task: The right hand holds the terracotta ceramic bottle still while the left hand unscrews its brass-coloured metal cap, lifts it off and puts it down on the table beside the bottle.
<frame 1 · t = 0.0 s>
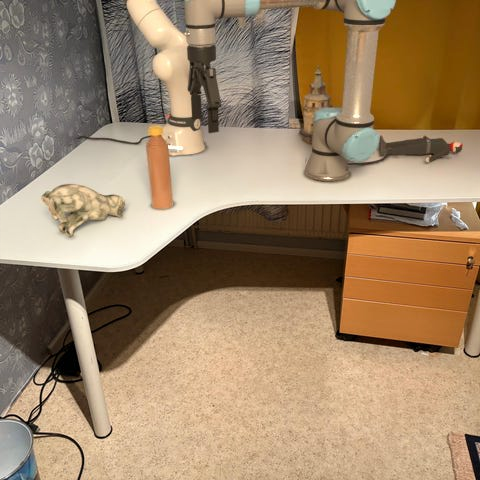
left hand: (250, 25, 175), 48 cm above the table, tool pointing down, fingers open, 8 cm apart
right hand: (205, 125, 148), 28 cm above the table, tool pointing down, fingers open, 13 cm apart
figurine: (88, 226, 157), on the table
cap: (155, 128, 157), point 25 cm above the table, screwed on, not yet turned
bottle: (162, 204, 169), on the table
toy: (419, 154, 205), on the table
miniature building: (315, 140, 221), on the table
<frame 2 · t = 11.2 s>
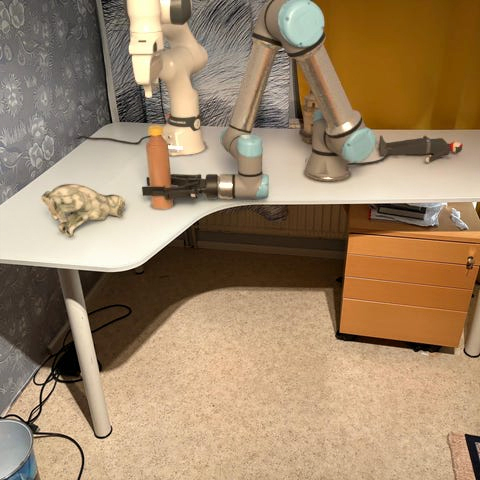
left hand: (152, 93, 152), 35 cm above the table, tool pointing down, fingers open, 6 cm apart
right hand: (144, 186, 166), 6 cm above the table, tool horizontal, fingers closed on bottle, 7 cm apart
bottle: (162, 204, 169), on the table, touching right hand
everything else where it was.
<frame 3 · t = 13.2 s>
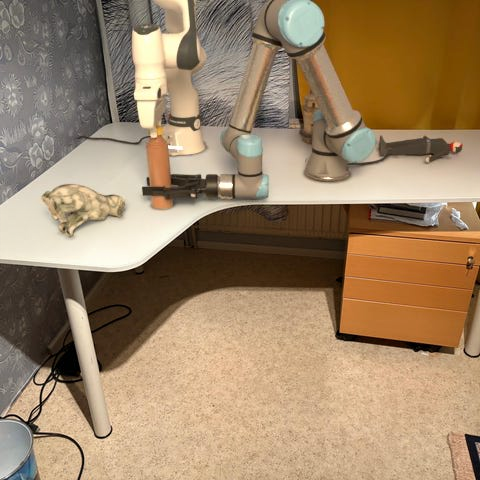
left hand: (156, 134, 158), 23 cm above the table, tool pointing down, fingers closed on cap, 4 cm apart
right hand: (144, 186, 166), 6 cm above the table, tool horizontal, fingers closed on bottle, 7 cm apart
cap: (155, 128, 157), point 25 cm above the table, screwed on, not yet turned, touching left hand
bottle: (162, 204, 169), on the table, touching right hand
everything else where it was.
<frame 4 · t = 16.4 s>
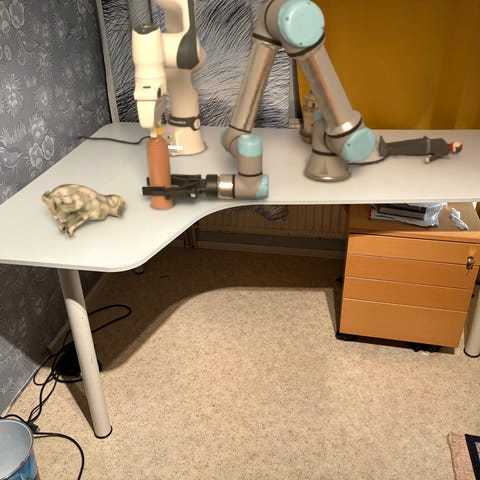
left hand: (155, 133, 158), 23 cm above the table, tool pointing down, fingers closed on cap, 4 cm apart
right hand: (144, 186, 166), 6 cm above the table, tool horizontal, fingers closed on bottle, 7 cm apart
cap: (155, 127, 157), point 25 cm above the table, turned 87° so far, risen 0.1 cm, still on its thread, touching left hand
bottle: (162, 204, 169), on the table, touching right hand
everything else where it was.
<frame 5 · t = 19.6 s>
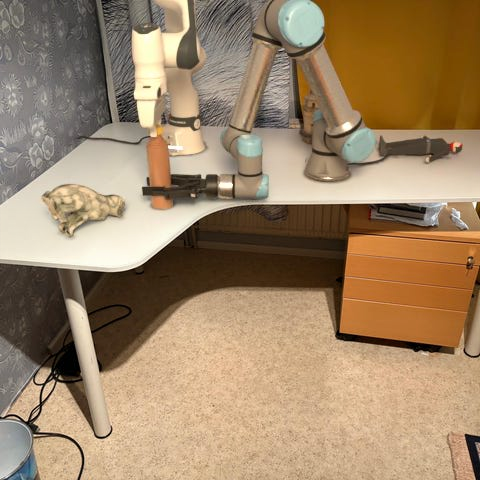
left hand: (155, 133, 158), 23 cm above the table, tool pointing down, fingers closed on cap, 4 cm apart
right hand: (144, 186, 166), 6 cm above the table, tool horizontal, fingers closed on bottle, 7 cm apart
cap: (155, 127, 157), point 25 cm above the table, turned 173° so far, risen 0.2 cm, still on its thread, touching left hand
bottle: (162, 204, 169), on the table, touching right hand
everything else where it was.
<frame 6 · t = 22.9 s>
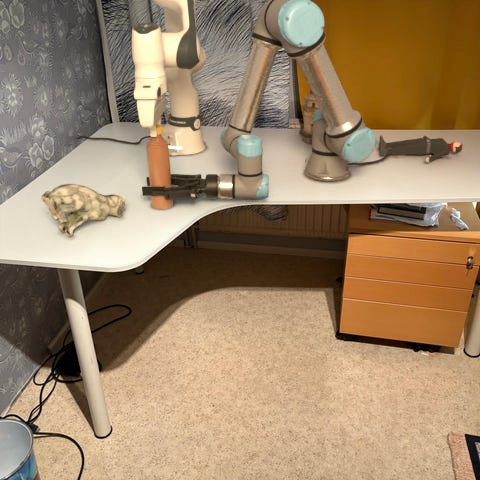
left hand: (155, 133, 158), 23 cm above the table, tool pointing down, fingers closed on cap, 4 cm apart
right hand: (144, 186, 166), 6 cm above the table, tool horizontal, fingers closed on bottle, 7 cm apart
cap: (155, 127, 157), point 25 cm above the table, turned 260° so far, risen 0.3 cm, still on its thread, touching left hand
bottle: (162, 204, 169), on the table, touching right hand
everything else where it was.
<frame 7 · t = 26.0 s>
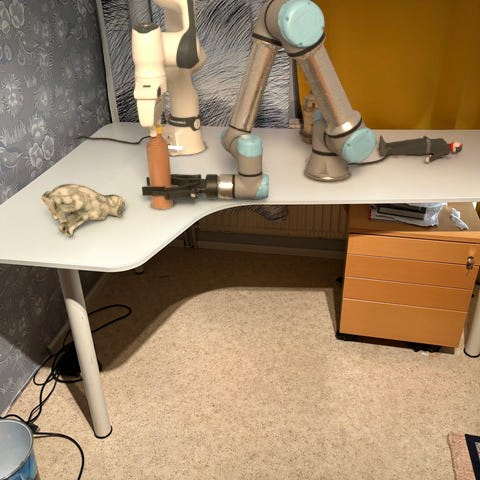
left hand: (155, 133, 158), 23 cm above the table, tool pointing down, fingers closed on cap, 4 cm apart
right hand: (144, 186, 166), 6 cm above the table, tool horizontal, fingers closed on bottle, 7 cm apart
cap: (155, 127, 157), point 25 cm above the table, turned 347° so far, risen 0.3 cm, still on its thread, touching left hand
bottle: (162, 204, 169), on the table, touching right hand
everything else where it was.
when the left hand's fingers open (2 cm above the table, at t = 37.0 s): cap drops 2 cm, point 2 cm above the table.
when the right hand's fingers open (6 cm above the table, at t = 38.0 s): bottle stays where it is, on the table.
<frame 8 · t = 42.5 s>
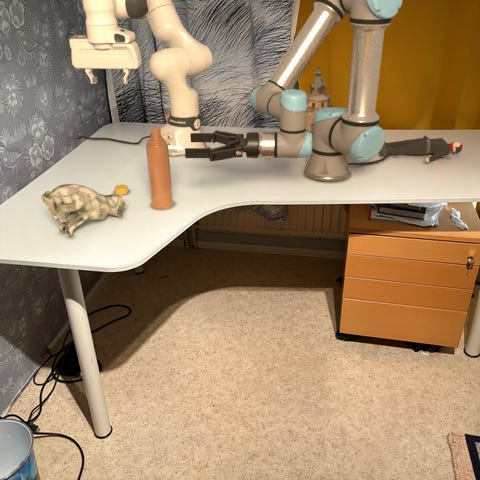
left hand: (109, 83, 160), 36 cm above the table, tool pointing down, fingers open, 8 cm apart
right hand: (187, 145, 159), 20 cm above the table, tool horizontal, fingers open, 13 cm apart
cap: (120, 187, 177), point 2 cm above the table, off its thread
bottle: (162, 204, 169), on the table
everything else where it was.
at the end: cap came off its thread; cap point 1.6 cm above the table; the left hand is holding nothing; the right hand is holding nothing; bottle tilted 0°; bottle moved 0.0 cm from its start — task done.
